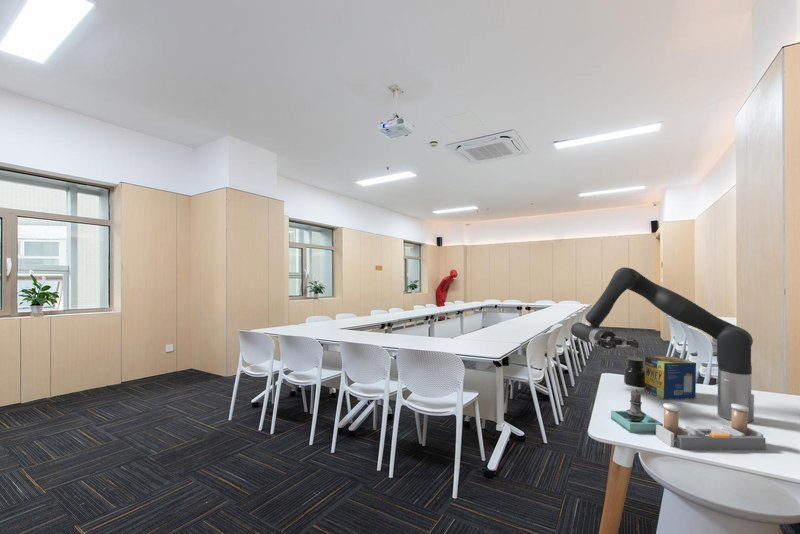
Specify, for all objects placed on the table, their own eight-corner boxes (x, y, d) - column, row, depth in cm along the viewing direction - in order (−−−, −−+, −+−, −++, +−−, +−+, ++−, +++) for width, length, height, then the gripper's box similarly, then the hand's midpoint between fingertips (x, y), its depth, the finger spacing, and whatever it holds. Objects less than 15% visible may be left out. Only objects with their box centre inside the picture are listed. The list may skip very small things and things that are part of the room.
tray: (640, 419, 134) (640, 410, 134) (662, 432, 123) (662, 423, 123) (610, 418, 134) (610, 410, 134) (629, 432, 123) (630, 423, 123)
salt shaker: (645, 428, 124) (646, 392, 124) (625, 424, 127) (625, 389, 127) (645, 422, 129) (645, 388, 129) (625, 418, 132) (626, 385, 132)
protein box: (644, 391, 164) (644, 356, 164) (675, 390, 166) (675, 356, 166) (663, 399, 154) (663, 362, 154) (696, 398, 156) (697, 362, 156)
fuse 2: (740, 437, 120) (741, 404, 120) (751, 443, 116) (752, 408, 116) (726, 436, 120) (727, 403, 120) (737, 442, 116) (738, 408, 116)
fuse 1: (672, 436, 120) (672, 403, 120) (682, 443, 116) (682, 408, 116) (659, 436, 120) (660, 403, 120) (669, 442, 116) (669, 408, 116)
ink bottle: (640, 381, 178) (641, 357, 178) (651, 387, 169) (651, 361, 169) (619, 381, 179) (620, 356, 179) (629, 386, 170) (629, 361, 170)
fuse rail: (732, 432, 124) (732, 419, 124) (768, 449, 112) (768, 435, 112) (647, 431, 124) (647, 418, 124) (674, 449, 112) (674, 435, 112)
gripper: (585, 329, 157) (607, 336, 141) (618, 329, 157) (644, 335, 141) (586, 347, 157) (608, 355, 141) (619, 346, 157) (645, 355, 141)
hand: (626, 345), depth 141 cm, fingers open, 8 cm apart
